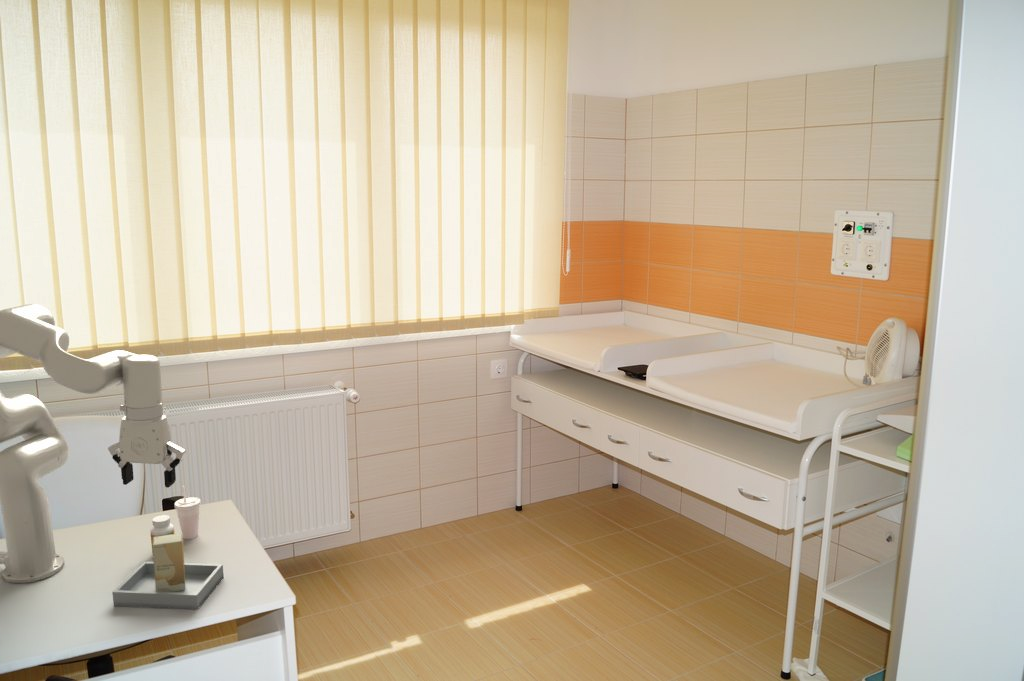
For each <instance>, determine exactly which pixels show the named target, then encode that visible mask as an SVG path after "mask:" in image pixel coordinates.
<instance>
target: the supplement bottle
mask: <svg viewBox="0 0 1024 681" xmlns="http://www.w3.org/2000/svg"><path fill="white" fill-rule="evenodd" d="M151 524H152V526H151V528H150V541H151V551H152V555H153V537H157V536H165V535H173V534H175V526H174V524H172V523H171V517H170V516H169V515H167V514H163V515H157V516H154V517H153V518H152V523H151Z"/></svg>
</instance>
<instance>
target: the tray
mask: <svg viewBox="0 0 1024 681" xmlns="http://www.w3.org/2000/svg"><path fill="white" fill-rule="evenodd" d="M184 567H185V590H180V591H174V592H156V587H155V572H154V561H143V562H142V563H141V564H140V565H139V566H138V567H137V568H136V569H134V571H133V572H132V573H131V574H129V576H127V577H126V579H124V580H123V581H122V582H121V583H120V584H119V585H118V586H117V587H116V588H115V589H114V590H113V591H112V594H111V595H112V602H113V607H119V608H121V607H122V608H142V609H143V608H144V609H173V610H174V609H175V610H192V609H198V610H199V609H200V608H201V607H202V605H203V604H205V602H206V601H207V599H208V598H209V597H210V596H211V594H212V593H213V592H214V591H215V589H216V588H217V587H218V586H219V584H220V583H221V582H222V581H223V580H224V565H223V563H222V564H221V563H220V564H219V563H196V562H195V563H194V562H193V563H192V562H191V563H190V562H184ZM222 579H223V580H222ZM221 580H222V581H221ZM217 585H218V586H217ZM216 586H217V587H216ZM213 590H214V591H213ZM209 595H210V596H209ZM205 600H206V601H205ZM204 601H205V602H204ZM200 606H201V607H200ZM199 607H200V608H199Z"/></svg>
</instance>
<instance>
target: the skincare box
mask: <svg viewBox="0 0 1024 681" xmlns="http://www.w3.org/2000/svg"><path fill="white" fill-rule="evenodd" d="M184 554H185V553H184V538H183V534H182V532H181V533H174V534H173V535H165V536H157V537H153V554H152V557H153V562H154V572H155V587H156V592H174V591H180V590H185V567H184V563H185V555H184Z"/></svg>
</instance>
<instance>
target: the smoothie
mask: <svg viewBox="0 0 1024 681" xmlns="http://www.w3.org/2000/svg"><path fill="white" fill-rule="evenodd" d="M182 492H183V498H180V499H178V500H176V501H175V502H174V509H175V510H176V513H177V518H178V522H179V527H180V532H181V533H182V534H183V540H192V539H196V538H197V537H199V523H200V521H199V520H200V508H201V507H200V506H201V505H202V502H201V501H202V500H201V499H200V498H199V497H196V496H195V497H194V496H188V497H187V493H186V486H185V485H182ZM195 537H196V538H195Z"/></svg>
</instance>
